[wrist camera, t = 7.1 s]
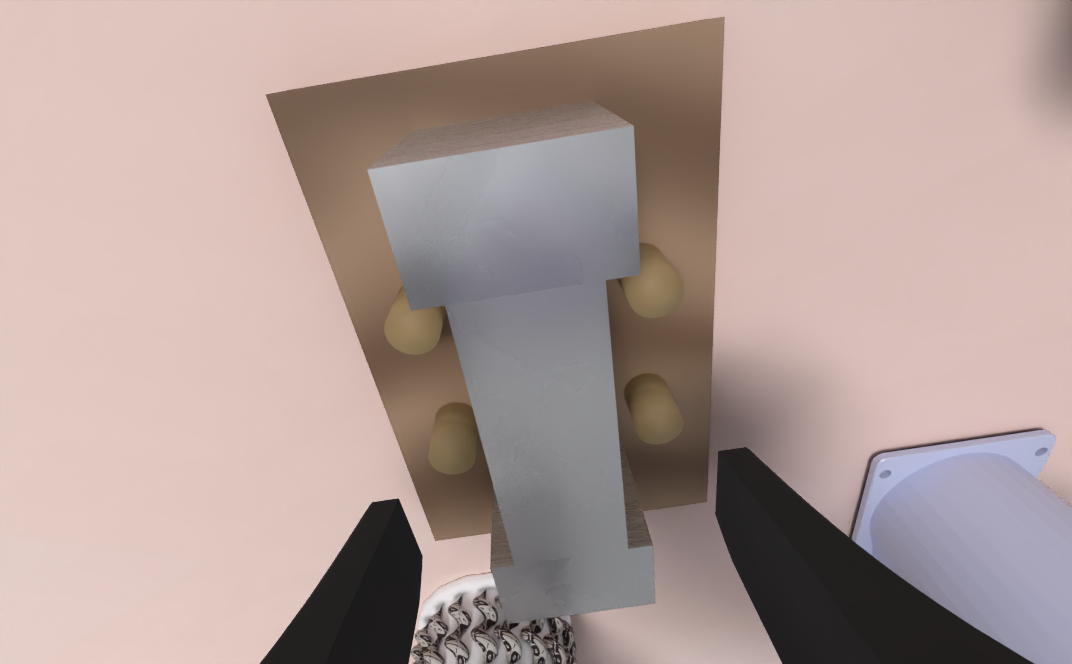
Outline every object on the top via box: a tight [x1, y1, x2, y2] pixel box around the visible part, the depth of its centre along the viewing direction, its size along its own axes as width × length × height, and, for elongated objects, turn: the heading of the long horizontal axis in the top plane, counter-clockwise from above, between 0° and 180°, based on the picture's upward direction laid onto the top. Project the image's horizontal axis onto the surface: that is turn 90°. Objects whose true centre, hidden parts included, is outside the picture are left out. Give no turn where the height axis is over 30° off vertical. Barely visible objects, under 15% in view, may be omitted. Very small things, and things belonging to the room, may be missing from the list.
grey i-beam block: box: [367, 101, 655, 624], centre depth 15 cm, size 15×5×5 cm, turn 8°
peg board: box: [266, 17, 725, 541], centre depth 17 cm, size 18×12×4 cm, turn 8°
